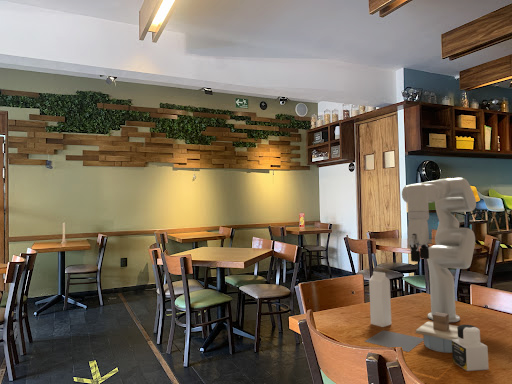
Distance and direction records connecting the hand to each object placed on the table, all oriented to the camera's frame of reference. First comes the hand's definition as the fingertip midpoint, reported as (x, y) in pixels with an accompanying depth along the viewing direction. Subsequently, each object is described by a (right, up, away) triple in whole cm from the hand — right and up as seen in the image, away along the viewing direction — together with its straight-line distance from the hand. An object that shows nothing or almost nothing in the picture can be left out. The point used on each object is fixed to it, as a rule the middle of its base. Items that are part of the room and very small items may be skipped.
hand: (420, 259), depth 148 cm
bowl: (+1, -28, -16) cm, 32 cm away
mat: (-13, -28, -9) cm, 32 cm away
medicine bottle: (+2, -27, -31) cm, 41 cm away
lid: (+1, -22, -16) cm, 27 cm away
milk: (-12, -29, +10) cm, 33 cm away
